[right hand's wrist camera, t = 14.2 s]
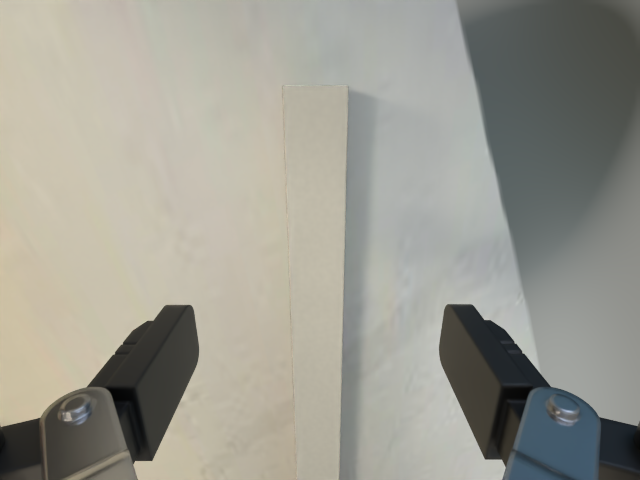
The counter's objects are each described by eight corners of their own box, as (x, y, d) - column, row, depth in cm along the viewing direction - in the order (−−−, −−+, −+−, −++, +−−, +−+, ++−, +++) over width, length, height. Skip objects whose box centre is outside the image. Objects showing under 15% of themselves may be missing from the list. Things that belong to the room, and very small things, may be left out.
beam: (288, 88, 32) (282, 85, 27) (343, 88, 32) (348, 85, 27) (303, 560, 57) (301, 610, 51) (334, 560, 57) (336, 610, 51)
